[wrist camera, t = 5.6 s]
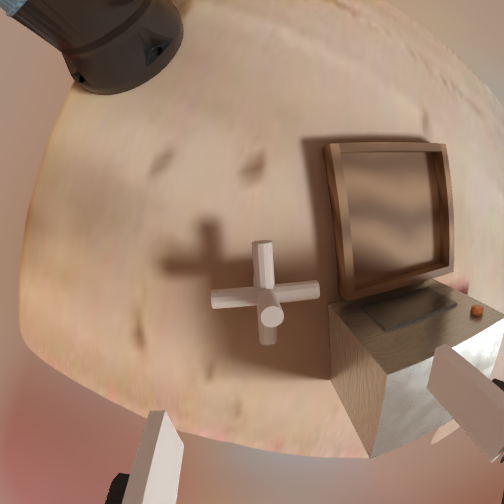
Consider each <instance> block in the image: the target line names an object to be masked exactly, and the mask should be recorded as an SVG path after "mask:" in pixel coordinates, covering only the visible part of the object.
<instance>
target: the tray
mask: <svg viewBox="0 0 504 504" xmlns="http://www.w3.org/2000/svg"><path fill="white" fill-rule="evenodd" d="M323 154H324V160H325V166H326V172H327V179H328V186H329V193H330V200H331V208H332V216H333V225H334V235H335V245H336V256H337V269H338V283H339V294H340V295H341V296H342V297H343V298H344V299H345V300H346V301H350V300H354V299H358V298H362V297H366V296H370V295H374V294H378V293H382V292H386V291H390V290H394V289H397V288H401V287H405V286H408V285H412V284H415V283H419V282H422V281H425V280H429V279H432V278H435V277H439V276H442V275H445V274H448V273H451V272H453V269H454V213H453V198H452V186H451V177H450V169H449V162H448V156H447V150H446V144H437V143H417V142H355V143H333V144H328V145H327V146H325V147H323Z"/></svg>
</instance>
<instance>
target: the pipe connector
mask: <svg viewBox="0 0 504 504" xmlns="http://www.w3.org/2000/svg"><path fill="white" fill-rule="evenodd" d="M252 253H253V266H254V276H253V285H254V286H251V287H240V288H228V289H216V290H211V304H212V308H213V309H219V308H232V307H244V306H255V305H257V318H258V331H259V342H260V343H261V344H262V345H273V344H275V343H276V342H277V326H278V325H280V324H281V323H282V321H283V319H284V313H283V310H282V308H281V306H280V303H284V302H293V301H302V300H310V299H318V298H319V297H320V287H319V283H318V281H317V280H311V281H302V282H293V283H283V284H275V282H274V265H273V248H272V241H269V240H261V241H255V242H252Z"/></svg>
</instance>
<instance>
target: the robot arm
mask: <svg viewBox="0 0 504 504" xmlns="http://www.w3.org/2000/svg"><path fill="white" fill-rule="evenodd" d="M0 7H1V8H2V9H3V10H5V11H6V14H7V16H10V17H12V18H14V19H15V20H17V21H18V22H20V23H21V24H23V25H24V26H26V27H27V28H29V29H30V30H31V31H33V32H34V33H36V34H37V35H39V36H40V37H41V38H43V39H44V40H46V41H47V42H48V43H50V44H51V45H53V46H54V47H55V48H57V49H58V50H59V51H61V52H62V55H63V57H64V59H65V62H66V64H67V67H68V69H69V71H70V74H71V76H72V77H73V79H74V80H75V81H76V82H77V83H78V84H79V85H80V86H82V87H83V88H85V89H86V90H88V91H90V92H92V93H95V94H100V95H112V94H118V93H122V92H125V91H128V90H131V89H133V88H136V87H138V86H140V85H141V84H143V83H145V82H147V81H148V80H150V79H151V78H153V77H154V76H155V75H157V74H158V73H159V72H160V71H161V70H162V69H164V68H165V67H166V66H167V64H168V63H169V62H170V61H171V60H172V58H173V57H174V56H175V54H176V53H177V51H178V49H179V47H180V45H181V42H182V39H183V24H182V20H181V17H180V14H179V12H178V10H177V9H176V7H175V6H174V5H173V4H172V3H171V2H170V1H168V0H0ZM426 388H427V389H428V390H429V391H430V392H431V393H432V395H433V396H434V397H435V398H436V399H437V400H438V401H439V402H440V404H441V405H442V406H443V407H444V408H445V409H446V410H447V412H448V413H449V414H450V415H451V416H452V417H453V418H454V420H455V421H456V422H457V423H458V424H459V425H460V427H461V428H462V429H463V430H464V431H465V432H466V434H467V435H468V436H469V437H470V438H471V440H472V441H473V442H474V443H475V444H476V446H477V447H478V448H479V449H480V450H481V452H482V453H483V454H484V455H485V456H486V458H487V459H488V460H489V462H490V463H491V462H493V461H494V460H495V459H496V458H497V457H499V455H501V454H502V453H503V451H504V382H503V381H500V380H498V379H493V380H492V381H491V380H490V379H489V378H487V377H486V376H485V375H484V374H483V373H482V372H480V371H479V370H478V369H477V368H476V367H474V366H473V365H472V364H471V363H470V362H468V361H467V360H466V359H465V358H464V357H462V356H461V355H460V354H459V353H457V352H456V351H455V350H454V349H452V348H451V347H450V346H449V345H447V344H446V343H445V344H443V345H441V346H439V347H437V348H435V353H434V358H433V362H432V367H431V371H430V376H429V380H428V384H427V387H426ZM183 450H184V444H183V443H182V441H181V439H180V437H179V435H178V434H177V432H176V430H175V428H174V426H173V425H172V423H171V421H170V419H169V417H168V415H167V413H166V411H150V412H149V415H148V419H147V422H146V425H145V428H144V431H143V434H142V437H141V440H140V444H139V447H138V450H137V453H136V456H135V460H134V463H133V466H132V469H131V473H130V474H122V473H119V474H118V475H117V476H116V477H115V478H114V479H113V481H112V483H111V486H110V489H109V493H108V495H107V500H106V502H105V504H176V499H177V491H178V484H179V477H180V470H181V463H182V456H183ZM503 461H504V456H503V457H502V459H501V462H500V463H502V462H503ZM502 504H504V492H503V498H502Z"/></svg>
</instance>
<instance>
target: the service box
mask: <svg viewBox="0 0 504 504" xmlns="http://www.w3.org/2000/svg"><path fill="white" fill-rule="evenodd" d="M328 314H329V335H330V380H331V382H332V384H333V386H334V388H335V390H336V392H337V394H338V396H339V398H340V400H341V402H342V404H343V406H344V408H345V410H346V412H347V414H348V416H349V418H350V420H351V422H352V424H353V426H354V428H355V430H356V432H357V434H358V436H359V438H360V440H361V442H362V444H363V446H364V448H365V450H366V452H367V454H368V456H369V458H370V459H371V458H374V457H376V456H379V455H382V454H384V453H387V452H389V451H391V450H393V449H396V448H398V447H401V446H403V445H405V444H407V443H409V442H411V441H414V440H415V439H418V438H420V437H421V436H424V435H425V434H427V433H429V432H431V431H433V430H435V429H437V428H439V427H440V426H442V425H444V424H446V423H447V422H449V421H451V420H452V419H454V418H453V417H452V416H451V415H450V414H449V413H448V412H447V410H446V409H445V408H444V407H443V406H442V405H441V404H440V402H439V401H438V400H437V399H436V398H435V397H434V396H433V395H432V393H431V392H430V391H429V390H428V389H427V388H426V387H427V384H428V380H429V376H430V371H431V367H432V362H433V358H434V353H435V348H437V347H439V346H441V345H443V344H445V343H446V344H447V345H449V346H450V347H451V348H452V349H454V350H455V351H456V352H457V353H459V354H460V355H461V356H462V357H464V358H465V359H466V360H467V361H468V362H470V363H471V364H472V365H473V366H474V367H476V368H477V369H478V370H479V371H480V372H482V373H483V374H484V375H485V376H486V377H487V378H490V375H491V372H492V369H493V366H494V363H495V360H496V357H497V354H498V350H499V347H500V343H501V340H502V336H503V332H504V314H502V313H501V312H499V311H497V310H495V309H493V308H491V307H489V306H487V305H485V304H483V303H481V302H479V301H477V300H475V299H473V298H471V297H469V296H467V295H465V294H463V293H461V292H459V291H457V290H455V289H453V288H451V287H449V286H447V285H445V284H443V283H440V282H438V281H436V280H434V279H429V280H425V281H422V282H419V283H415V284H412V285H408V286H405V287H401V288H397V289H394V290H390V291H386V292H382V293H378V294H374V295H370V296H366V297H362V298H358V299H354V300H350V301H346V300H343V301H339V302H335V303H330V304H328Z"/></svg>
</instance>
